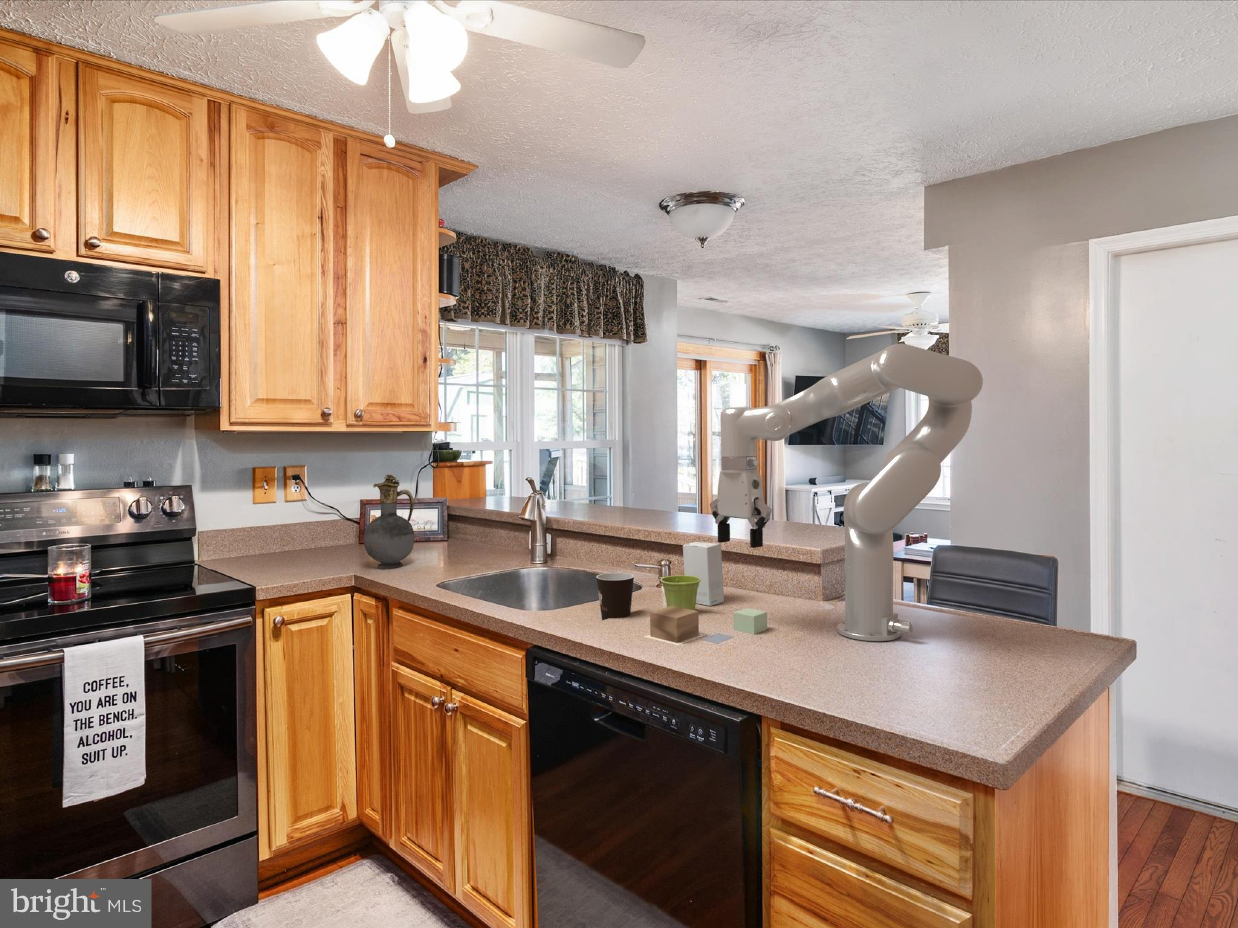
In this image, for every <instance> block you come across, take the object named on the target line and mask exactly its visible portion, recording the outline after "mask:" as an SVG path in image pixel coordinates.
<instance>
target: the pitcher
mask: <svg viewBox="0 0 1238 928" xmlns="http://www.w3.org/2000/svg"><path fill="white" fill-rule="evenodd" d="M383 479H384V481H383V482H379V483H374V484H372V487H373V488H377V489H378V491H379V503H380V515H379V516H377V517H376V518H374V519H372V520H371V521H370V522H369V523H368V524H367V526H366V528H365V531H364V534H363V546H364V550H365V551H366V554H367V555H368V556H369V557H370V558H372V560H375V561H376V562H379V564H377V568H378V569H381V570H391V569H399V568H402V566H404V565H403V563H402V562H401V561H403V560H404V559H405V558H407V557H408V556H409V555H410V554H411V553H412V551H413V549H414V544H415V532H414V528H413V526H412V524H411V522H410V521H411V519H412V515H413V511H414V506H415V505H414V504H415V501H414V500H415V499H414V497H413V495H412V492H411V491H410V490H409V489H402V490H399V491H398V487H399V486H400V479H397V477H396V476H393V474H386V475H385V476H384V478H383ZM402 495H406V496H407V497H408V499H409V502H410V503H409V504H410V505H409V513H408V517H407V519H406V518H405V517H403V516H400V515H398V514H397V513H398V512H397V511H398V510H397V503H398V498H399V497H400V496H402Z"/></svg>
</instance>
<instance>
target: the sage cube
mask: <svg viewBox="0 0 1238 928" xmlns="http://www.w3.org/2000/svg"><path fill="white" fill-rule="evenodd" d="M766 630H768V612H767V611H764V610H759V609H754V608H748V607H746V608H743V609H740V610H737V611H734V612H733V631H736V632H739V633H740V632H741V633H745V634H750V635H757V634H759V633H761V632H764V631H766Z"/></svg>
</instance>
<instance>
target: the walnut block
mask: <svg viewBox="0 0 1238 928" xmlns="http://www.w3.org/2000/svg"><path fill="white" fill-rule="evenodd" d="M649 614H650V615H649V631H650V632H649V633H650V634H649V635H650V637H654V638H658V639H662V640H666V641H671V642H675V643H679V642H682V641H685V640H687V639H690V638H693V637H696V636H699V634H700V630H699V629H700V625H699V623H700V621H699V614H700V613H699V610H696V609H695V610H690V609H685V608H680V607H675V606H670V607H667V606H666V607H664V608H660V609H658V610H653V611H650V612H649Z"/></svg>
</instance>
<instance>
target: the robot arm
mask: <svg viewBox="0 0 1238 928" xmlns="http://www.w3.org/2000/svg"><path fill="white" fill-rule="evenodd" d="M983 382H984V378H983V374H982V372H981V371H980V369H979V368H978V366H976V365H975V364H974V363H972V362H970V361H969V360H965V359H962V358H958V357H955V356H951V355H947V354H944V353H940V352H935V351H933V350H929V349H925V348H921V347H919V346H914V345H910V344H906V343H895V344H892V345H891V344H890V345H889V346H887V347H885V348H884V349H882V350H880V351H878V352H876V353H873V354H872V355H870V356H867V357H865V358H863V359H861V360H859V361H856V362H855V363H852V364H851V365H848V366H846V367H844V368H841V369H839V370H838V371H835V372H833V373H831V374H829V375H827V376H825V377H823V378H821V379H820V380H818V381H817V382H816V383H814V384H813V385H812V386H809V387H808V388H806V389H804V390H802V391H800V392H798V393H797V394H795V395H792V396H789V397H788V398H785V399H783V400H781V401H779V402H776V403H775V404H773V405H772V404H771V405H766V406H759V407H753V408H752V407H748V406H743V407H742V406H737V407H736V406H735V407H725V408H723V409H722V411H721V412H720V421H719V422H720V469H721V471H719V477H718V483H717V484H718V485H717V494H716V495H717V498H716V499H714V500H713V501H711V502H709V508H710V511H711V512H712V513H711V514H712V516H713V518H714V519H715V521H714V523H715V524H716V525H717V543H719V544H722V543H727V542H730V541H731V525H730V522H729V521H730V519H731V518H732V519H740V520H741V519H742V520H748V523H749V524H750V526H751V527H752V528H750V529H749V546H750V548H751V549H755V548H756V549H757V548H761V547H762V548H763V546H764V531H763V529H764V528H766V525H767V523H768V522H769V520H770V517H771V514H772V507H770V506H769V505H768V504H766V503H765V499H764V488H763V482H762V476H761V473H760V471H758V470H757V469H758V468H757V467H758V466H759V464H760V462H759V460H757V455H758V454H757V440H763V441H769V442H779V441H782V440H784V439H786V438H788V436H791V435H792V434H794V433H797V432H799V431H800V430H803V429H805V428H807V427H809V426H812V425H814V424H817V423H818V422H821V421H823V420H827V419H831V418H834V417H838V416H841V415H843V414H846V413H848V412H851V411H852V410H854V409H857V408H859V407H861V406H863V405H865V404H868V403H870V402H872V401H874V400H876V399H878V398H881V397H883V396H885V395H887V394H889V393H891V392H893V391H896V390H898V389H902V390H906V391H909V392H913V393H915V394H919V395H921V396H925V397H927V399H928V407H927V410H926V412H925V414H924V416H923V417H922V418H921V420H920V421H919V422H918V423H917V424H916V425H915V427H914V428H913V429H912V430H911V431H910V432H909V433H908V434H907V435H906V436H905V437H904V438H903V439H902V440H901V441H900V442H899V443H898V444H897V445H896V446H895V447H894V448H893V449H891V450H890V451H889V452H888V453H887V454H886V456H885V458H884V460H883V462H882V468H881V469H880V471H878V472H877V473H876V475H874V477H873V478H872V479H871V480H870V481H869V482H868V481H867V482H866V481H865V482H861V483H858V484H856V485H854V486H853V487H851V488H850V489H849V491H848V492H847V493H846V495H845V497H844V502H843V522H844V621H842V622H840V623H839V624H837V633H839V634H840V635H842V636H844V637H846V638H849V639H853V640H859V641H865V642H887V641H893V640H896V639H899V638H900V637H901V636H902V633H904V634H910V635H911V634H912V632H913V624H912V622H911V621H906V620H900V618H899V613H898V612H895V611H894V533H893V531H894V528H895V527H896V526H898V525H899V524H900V523H901V522H902V521H903V520H904V519H905V518H906V517H907V516H908V515H909V514H911V512H912V511H913V510H914V509H915V508H916V507H917V506H918V505H919V504H920V503H921V502H922V501H923V500H924V499H925V498H926V497H927V496H928V495H929V494H930V493H931V492H932V490H934V488H935V487H936V485H937V484H938V482H939V480H940V478H941V474H942V465H941V464H942V462H943V461H944V460H945V459H947V457H948V456H949V455H950V453H952V452H953V451H954V449H955V448H957V446H958V445H959V444H960V443H961V442H962V440H963V439H964V438H965V436H966V433H967V432H968V430H969V428H970V424H971V421H972V414H973V405H972V402H973V400H974V399H975V398H977V396H978V395H979V394H980V392H981V390H982V388H983V384H984V383H983Z"/></svg>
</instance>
